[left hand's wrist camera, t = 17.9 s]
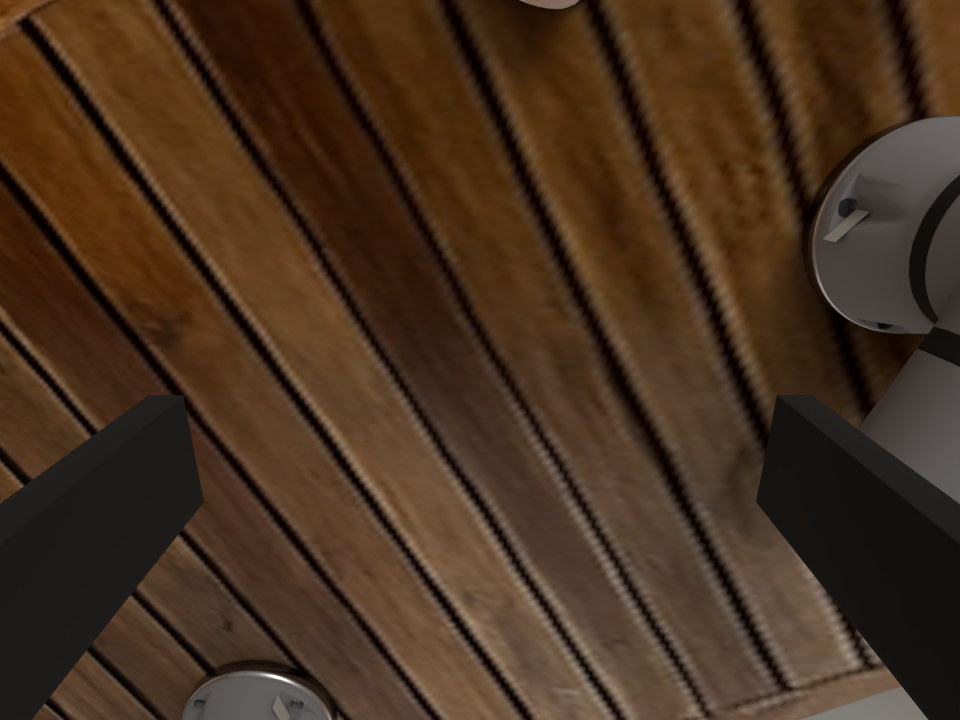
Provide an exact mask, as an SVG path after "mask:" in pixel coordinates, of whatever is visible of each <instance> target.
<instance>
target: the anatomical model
mask: <svg viewBox="0 0 960 720" xmlns="http://www.w3.org/2000/svg"><path fill="white" fill-rule="evenodd" d="M520 1H523V2H525V3H528V4H531V5H535V6H538V7H543V8H549V9H563V8H567V7H570V6H572V5H574V4H576V3H577V2H578V1H579V0H520Z"/></svg>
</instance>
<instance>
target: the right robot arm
mask: <svg viewBox="0 0 960 720" xmlns="http://www.w3.org/2000/svg"><path fill="white" fill-rule="evenodd" d="M182 720H337V713H336V709H335V706H334V704H333V701H332V700H331V698H330V696H329V695H328V693H327V692H326V691H325V690H324V689H323V688H322V687H321V686H320V685H319V684H318V683H317V682H316V681H315V680H313V679H312V678H311V677H309V676H307V675H306V674H304V673H302V672H300V671H298V670H296V669H294V668H291V667H288V666H285V665H282V664H278V663H273V662H267V661H241V662H235V663H231V664H227V665H224V666H222V667H219V668H217V669H215V670H213V671H212V672H210V673H209V674H207V675H206V676H205V677H204V678H203V679H202V680H201V681H200V682H199V683H198V684H197V686H196V687H195V689H194V691H193V693H192V695H191V696H190V698H189V700H188V702H187V704H186V706H185V708H184V711H183V715H182Z"/></svg>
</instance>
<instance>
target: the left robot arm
mask: <svg viewBox="0 0 960 720" xmlns="http://www.w3.org/2000/svg"><path fill="white" fill-rule="evenodd" d="M804 262H805V267H806V271H807V274H808V278H809V280H810V283H811V285H812V287H813V289H814V290H815V292H816V294H817V295H818V297H819V298H820V299H821V300H822V302H823V303H824V304H825V305H826V306H827V307H828V308H829V309H831V310H832V311H833V312H835V313H836V314H838V315H839V316H841V317H842V318H845V319H847V320H849V321H851V322H853V323H856V324H858V325H860V326H862V327H865V328H868V329H871V330H875V331H880V332H887V333H898V334H910V333H913V334H925V339H924V340H923V342H922V343H921V344H920V346H919V347H918V348H917V349H916V350H915V352H914V353H913V354H912V356H911V357H910V358H909V360H908V361H907V363H906V364H905V365H904V367H903V368H902V369H901V371H900V372H899V374H898V375H897V376H896V378H895V379H894V381H893V382H892V383H891V385H890V386H889V387H888V389H887V390H886V392H885V393H884V394H883V396H882V397H881V398H880V400H879V401H878V403H877V404H876V405H875V407H874V408H873V409H872V411H871V412H870V413H869V415H868V416H867V417H866V419H865V420H864V421H863V423H862V424H861V425H860V426H859V428H858V429H857V428H855V427H854V426H853V425H851V424H850V423H849V422H847V421H846V420H845V419H843V418H842V417H840V416H839V415H838V414H836V413H835V412H834V411H832V410H831V409H829V408H828V407H827V406H825V405H824V404H823V403H821V402H820V401H819V400H817V399H816V398H814V397H813V396H812V395H777V398H776V403H775V408H774V413H773V419H772V424H771V429H770V434H769V439H768V444H767V449H766V454H765V459H764V464H763V469H762V475H761V480H760V485H759V490H758V495H757V500H756V502H757V504H758V505H759V506H760V507H761V509H762V510H763V511H764V513H765V514H766V515H767V516H768V518H769V519H770V520H771V521H772V523H773V524H774V525H775V526H776V528H777V529H778V530H779V532H780V533H781V534H782V535H783V537H784V538H785V539H786V540H787V542H788V543H789V544H790V545H791V547H792V548H793V549H794V550H795V552H796V553H797V554H798V556H799V557H800V558H801V559H802V561H803V562H804V563H805V564H806V566H807V567H808V568H809V569H810V571H811V572H812V573H813V574H814V576H815V577H816V578H817V580H818V581H819V582H820V583H821V585H822V586H823V587H824V588H825V590H826V591H827V592H828V593H829V595H830V596H831V597H832V599H833V600H834V601H835V602H836V604H837V605H838V606H839V607H840V609H841V610H842V611H843V612H844V614H845V615H846V616H847V617H848V619H849V620H850V621H851V623H852V624H853V625H854V626H855V628H856V629H857V630H858V631H859V633H860V634H861V635H862V636H863V638H864V639H865V640H866V641H867V643H868V644H869V645H870V647H871V648H872V649H873V650H874V652H875V653H876V654H877V655H878V657H879V658H880V659H881V660H882V662H883V663H884V664H885V666H886V667H887V668H888V669H889V671H890V672H891V673H892V674H893V676H894V677H895V678H896V679H897V681H898V682H899V683H900V684H901V686H902V687H903V688H904V689H905V691H906V692H907V693H908V695H909V696H910V697H911V698H912V700H913V701H914V702H915V703H916V705H917V706H918V707H919V708H920V710H921V711H922V712H923V714H924V715H925V716H926V717H927V719H928V720H960V116H938V117H926V118H919V119H914V120H909V121H906V122H902V123H899V124H897V125H894V126H892V127H889V128H887V129H885V130H883V131H881V132H879V133H877V134H875V135H874V136H872V137H870V138H869V139H867V140H866V141H865V142H863V143H862V144H860V145H859V146H858V147H856V148H855V149H854V150H853V151H852V152H851V153H849V154H848V155H847V156H846V157H845V158H844V159H843V160H842V161H841V162H840V163H839V165H838V166H837V167H836V168H835V169H834V170H833V172H832V173H831V174H830V176H829V177H828V178H827V180H826V181H825V183H824V185H823V186H822V188H821V189H820V191H819V193H818V195H817V197H816V199H815V201H814V203H813V206H812V208H811V211H810V214H809V217H808V220H807V225H806V229H805V236H804ZM939 357H940V358H939ZM941 358H942V359H941ZM943 359H944V360H943ZM945 360H946V361H945ZM947 361H948V362H947ZM950 362H951V363H950ZM952 363H953V364H952ZM954 364H955V365H954ZM956 365H957V366H956ZM203 502H204V500H203V495H202V490H201V485H200V480H199V475H198V469H197V464H196V459H195V454H194V449H193V444H192V439H191V434H190V429H189V424H188V419H187V413H186V408H185V403H184V398H183V395H148V396H147V397H146V398H144V399H143V400H141V401H140V402H139V403H137V404H136V405H135V406H133V407H132V408H131V409H129V410H128V411H126V412H125V413H124V414H122V415H121V416H120V417H118V418H117V419H115V420H114V421H113V422H111V423H110V424H109V425H107V426H106V427H105V428H103V429H102V430H100V431H99V432H98V433H96V434H95V435H94V436H92V437H91V438H90V439H88V440H87V441H85V442H84V443H83V444H81V445H80V446H79V447H77V448H76V449H74V450H73V451H72V452H70V453H69V454H68V455H66V456H65V457H64V458H62V459H61V460H59V461H58V462H57V463H55V464H54V465H53V466H51V467H50V468H49V469H47V470H46V471H44V472H43V473H42V474H40V475H39V476H38V477H36V478H35V479H33V480H32V481H31V482H29V483H28V484H27V485H25V486H24V487H23V488H21V489H20V490H18V491H17V492H16V493H14V494H13V495H12V496H10V497H9V498H7V499H6V500H5V501H3V502H2V503H1V504H0V720H32V719H33V717H34V716H35V715H36V714H37V712H38V711H39V710H40V708H41V707H42V706H43V705H44V703H45V702H46V701H47V700H48V698H49V697H50V696H51V695H52V693H53V692H54V691H55V690H56V688H57V687H58V686H59V684H60V683H61V682H62V681H63V679H64V678H65V677H66V676H67V674H68V673H69V672H70V671H71V669H72V668H73V667H74V666H75V664H76V663H77V662H78V660H79V659H80V658H81V657H82V655H83V654H84V653H85V652H86V650H87V649H88V648H89V647H90V645H91V644H92V643H93V641H94V640H95V639H96V638H97V636H98V635H99V634H100V633H101V631H102V630H103V629H104V628H105V626H106V625H107V624H108V623H109V621H110V620H111V619H112V617H113V616H114V615H115V614H116V612H117V611H118V610H119V609H120V607H121V606H122V605H123V604H124V602H125V601H126V600H127V599H128V597H129V596H130V595H131V593H132V592H133V591H134V590H135V588H136V587H137V586H138V585H139V583H140V582H141V581H142V580H143V578H144V577H145V576H146V574H147V573H148V572H149V571H150V569H151V568H152V567H153V566H154V564H155V563H156V562H157V561H158V559H159V558H160V557H161V556H162V554H163V553H164V552H165V550H166V549H167V548H168V547H169V545H170V544H171V543H172V542H173V540H174V539H175V538H176V537H177V535H178V534H179V533H180V532H181V530H182V529H183V528H184V526H185V525H186V524H187V523H188V521H189V520H190V519H191V518H192V516H193V515H194V514H195V513H196V511H197V510H198V509H199V507H200V506H201V505H202V504H203Z"/></svg>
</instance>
